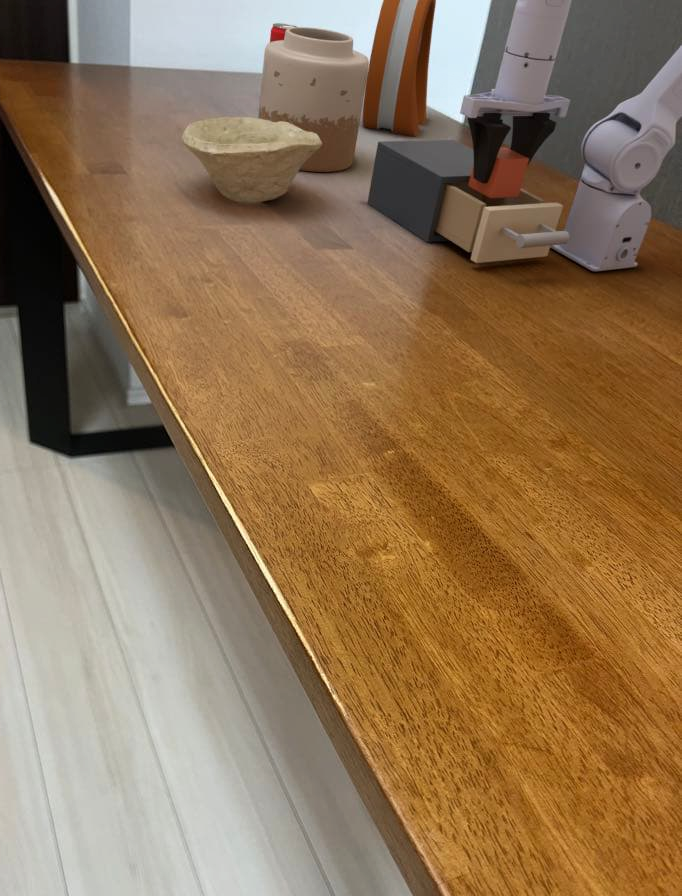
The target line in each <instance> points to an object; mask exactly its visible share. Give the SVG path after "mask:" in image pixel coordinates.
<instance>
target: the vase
mask: <svg viewBox="0 0 682 896" xmlns="http://www.w3.org/2000/svg"><path fill="white" fill-rule="evenodd" d="M262 62H263V63H262V72H261V83H260V95H259V107H258V117H257V118H259V119H264V120H269V121H272V122H279V121H284V122H288V123H290V124H292V125H295V126H296V127H298V128H300V129H302V130H304V131H307V132H313V133H316V134H317V135H318V136H319V138H320V140H321V142H322V145H321V147H320V148H319V149H318V150H316V151H315V152H314V153H313V154H312V155H311V156H310V157H309V158H308V159H307V160H306V161H305V162H304V163H303V165H302V166H301V168H300V169H299V171H305V172H315V173H331V172H339V171H343V170H346V169H348V168H350V167H351V166H352V164H353V162H354V159H355V153H356V147H357V141H358V134H359V129H360V124H361V123H360V122H361V116H362V112H363V104H364V96H365V88H366V81H367V74H368V68H369V62H370V60H369V59H368V57H367V56H366V55H365V54H363V53H361V52H360V51H358V50H354V37H352V36H350V35H348V34H346V33H343V32H339V31H335V30H331V29H324V28H318V27H308V26H307V27H306V26H297V27H292V28H288V29H287V30H286V32H285V37H284V40H280V41H273V42H270V41H269V43H267V44H266V45H265V48H264V52H263V61H262Z"/></svg>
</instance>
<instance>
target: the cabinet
mask: <svg viewBox="0 0 682 896" xmlns="http://www.w3.org/2000/svg"><path fill="white" fill-rule="evenodd" d="M473 164H474V152H473V148H471V147H468V146H466V145H464V144H462V143H460V142H458V141H457V140H454V139H436V140H435V139H431V140H429V139H427V140H389V141H388V140H387V141H385V140H384V141H382V140H381V141H378V142H377V146H376V151H375V157H374V162H373V169H372V174H371V179H370V186H369V191H368V197H367V204H368V205H369V206H371V207H372V208H374V209H375V210H377V211H379V213H381V214H383V215H384V216H386V217H387V218H389V219H390V220H391V221H393V222H395V223H396V224H398V225H400V226H401V227H403V228H404V229H406V230H407V231H408V232H410V233H412V234H414V235H415V236H417V237H418V238H420V239H421V240H422V241H424V242H426V243H428V244H429V243H438V242H439V243H440V242H451V241H450V240H449V239H447V238H445V237H444V236H442V235H441V234H439V233H437V232H436V231H435V227H436V223H437V218H438V214H439V210H440V205H441V201H442V197H443V192H444V188H445V183H461V182H469V180H470V176H471V172H472V168H473Z"/></svg>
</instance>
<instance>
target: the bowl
mask: <svg viewBox="0 0 682 896" xmlns="http://www.w3.org/2000/svg"><path fill="white" fill-rule="evenodd" d="M181 143H182V144H183V145H184V146H185V147H186V148H187V149H188V150H189V151H190V152H191V153H192V154H193V155H194V156H195V157H196V158H198V160H199V161H200V163H201V165H202V166H203V167H204V169H205V170H206V171H207V173H208V176H209V177H210V178H211V180H212V182H213V184H214V185H215V187H216V189H217V190H218V192H220V193H221V195H222V196H224V197H225V198H227V199H229V200H231V201H233V202H235V203H238V204H243V205H251V204H252V205H253V204H259V203H262V202H267V201H273V200H276V199H278V198H279V197H281V196H283V195H285V194H286V193H287V192H288V191H289V190H290V188H291V187H292V185H293V182H294V179H295V177H296V176H297V174H298V173H299V171H300V170H299V169H300V168H301V166H302V165H303V163H304V162H305V161H306V160H307V159H308V158H309V157H310V156H311V155H312V154H313V153H314V152H315V151H316V150H318V149H319V148H320V147H321V145H322V142H321V140H320V138H319V136H318V135H317V134H316V133H313V132H307V131H304V130H302V129H300V128H298V127H296V126H295V125H292V124H290V123H288V122H284V121H279V122H272V121H269V120H264V119H259V118H258V117H253V116H252V117H251V116H234V117H233V116H231V117H229V116H223V117H215V118H207V119H202V120H197V121H194V122H191V123H190V124H188V126H187V127H186V128H185V129H184V132H183V133H182V136H181Z"/></svg>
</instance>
